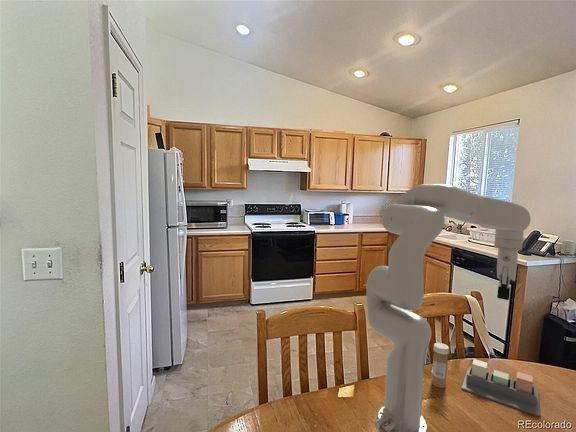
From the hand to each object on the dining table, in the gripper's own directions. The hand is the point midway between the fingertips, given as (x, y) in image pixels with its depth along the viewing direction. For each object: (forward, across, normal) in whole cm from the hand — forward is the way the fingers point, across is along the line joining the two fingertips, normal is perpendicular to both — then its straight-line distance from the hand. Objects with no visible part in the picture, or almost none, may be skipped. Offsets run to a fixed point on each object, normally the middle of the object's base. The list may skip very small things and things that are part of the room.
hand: (503, 298), depth 106 cm
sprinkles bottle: (+29, -14, +15) cm, 36 cm away
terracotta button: (+26, -5, -7) cm, 28 cm away
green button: (+28, -5, -1) cm, 29 cm away
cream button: (+26, -5, +5) cm, 27 cm away
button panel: (+29, -5, -1) cm, 30 cm away
